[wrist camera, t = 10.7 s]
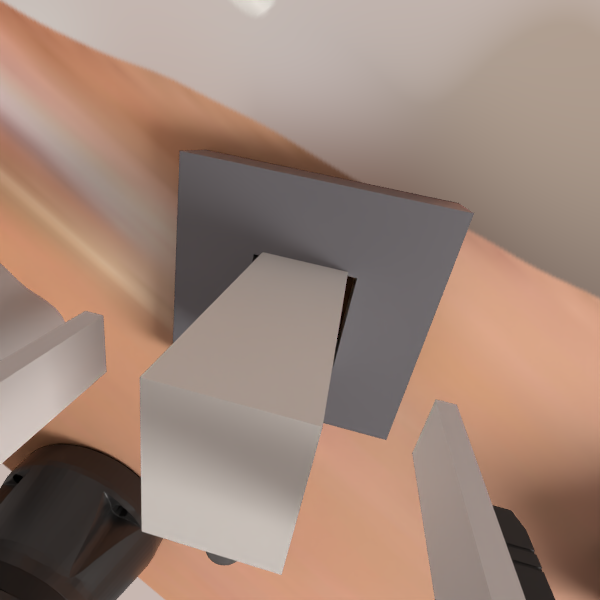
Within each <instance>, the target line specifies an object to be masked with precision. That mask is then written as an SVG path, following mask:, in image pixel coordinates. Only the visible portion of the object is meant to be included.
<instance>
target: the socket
mask: <svg viewBox="0 0 600 600" xmlns="http://www.w3.org/2000/svg"><path fill="white" fill-rule="evenodd" d="M473 214H474V213H473V212H471V211H470V210H468V209H467V208H465V207H464V206H462V205H461V204H459V203H455V202H451V201H446V200H441V199H436V198H432V197H426V196H422V195H417V194H413V193H408V192H403V191H398V190H394V189H389V188H384V187H380V186H375V185H370V184H365V183H361V182H356V181H351V180H346V179H342V178H337V177H332V176H327V175H323V174H318V173H313V172H309V171H304V170H299V169H294V168H290V167H285V166H280V165H275V164H271V163H266V162H261V161H256V160H252V159H247V158H242V157H237V156H233V155H228V154H223V153H219V152H214V151H209V150H185V151H180V159H179V187H178V215H177V244H176V272H175V300H174V328H173V343H174V342H175V341H176V340H177V339H178V338H179V337H180V336H181V335H182V334H183V333H184V332H185V331H186V330H187V329H188V328H189V327H190V326H191V325H192V324H193V323H194V322H195V321H196V320H197V318H198V317H199V316H200V315H201V314H202V313H203V312H204V311H205V310H206V309H207V308H208V307H209V306H210V305H211V304H212V303H213V302H214V301H215V300H216V299H217V298H218V297H219V296H220V295H221V294H222V293H223V292H224V291H225V290H226V289H227V288H228V287H229V286H230V285H231V284H232V283H233V282H234V281H235V280H236V279H237V278H238V277H239V276H240V275H241V274H242V273H243V272H244V271H245V270H246V269H247V268H248V267H249V266H250V265H251V264H252V262H253V261H254V260H255V259H256V258H257V257H258V256H259V255H260V254H261V253H262V252H265V253H269V254H273V255H278V256H282V257H286V258H290V259H295V260H299V261H303V262H308V263H312V264H316V265H320V266H325V267H329V268H333V269H338V270H342V271H346V272H348V275H347V276H350V277H354V281H353V285H352V288H351V292H350V296H349V300H348V303H347V307H346V311H345V315H344V319H343V322H342V326H341V330H340V334H339V337H338V340H337V342H336V348H335V354H334V360H333V367H332V373H331V379H330V385H329V391H328V397H327V403H326V409H325V415H324V421H323V423H326V424H329V425H333V426H337V427H340V428H344V429H348V430H351V431H355V432H359V433H362V434H366V435H370V436H374V437H377V438H381V439H385V440H386V439H387V437H388V434H389V431H390V429H391V426H392V424H393V421H394V418H395V416H396V413H397V411H398V408H399V406H400V403H401V400H402V398H403V395H404V393H405V390H406V387H407V385H408V382H409V380H410V377H411V375H412V372H413V369H414V367H415V364H416V362H417V359H418V356H419V354H420V351H421V349H422V346H423V344H424V341H425V338H426V336H427V333H428V331H429V328H430V325H431V323H432V320H433V318H434V315H435V313H436V310H437V307H438V305H439V302H440V300H441V297H442V295H443V292H444V289H445V287H446V284H447V282H448V279H449V276H450V274H451V271H452V269H453V266H454V264H455V261H456V258H457V256H458V253H459V251H460V248H461V245H462V243H463V240H464V238H465V235H466V233H467V230H468V227H469V225H470V222H471V220H472V217H473Z"/></svg>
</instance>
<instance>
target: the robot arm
mask: <svg viewBox="0 0 600 600" xmlns="http://www.w3.org/2000/svg"><path fill="white" fill-rule="evenodd" d="M105 373H106V355H105V337H104V319H103V315H100V314H96V313H92V312H88V311H84V312H83V313H81V314H79V315H78V316H76V317H74V318H72V319H71V320H69V321H67V322H66V323H64V324H62V325H61V326H59V327H57V328H56V329H54V330H52V331H50V332H49V333H47V334H45V335H44V336H42V337H40V338H39V339H37V340H35V341H34V342H32V343H30V344H28V345H27V346H25V347H23V348H22V349H20V350H18V351H17V352H15V353H13V354H12V355H10V356H8V357H6V358H5V359H3V360H1V361H0V465H1V464H2V463H3V462H4V461H5V460H6V459H8V458H9V457H10V456H11V455H12V454H13V453H14V452H16V451H17V450H18V449H19V448H20V447H21V446H22V445H23V444H25V443H26V442H27V441H28V440H29V439H30V438H31V437H33V436H34V435H35V434H36V433H37V432H38V431H39V430H41V429H42V428H43V427H44V426H45V425H46V424H47V423H49V422H50V421H51V420H52V419H53V418H54V417H55V416H57V415H58V414H59V413H60V412H61V411H62V410H63V409H65V408H66V407H67V406H68V405H69V404H70V403H71V402H73V401H74V400H75V399H76V398H77V397H78V396H79V395H81V394H82V393H83V392H84V391H85V390H86V389H87V388H89V387H90V386H91V385H92V384H93V383H94V382H95V381H97V380H98V379H99V378H100V377H101V376H102V375H103V374H105ZM412 454H413V461H414V467H415V473H416V480H417V486H418V493H419V499H420V506H421V512H422V519H423V525H424V532H425V538H426V545H427V551H428V558H429V564H430V570H431V577H432V583H433V590H434V596H435V600H555V598H554V596H553V593H552V591H551V589H550V586H549V584H548V582H547V579H546V577H545V574H544V572H542V570H541V569H542V567H541V565H540V562H539V560H538V558H537V555H535V554H534V551H535V550H534V548H533V546H532V543H531V541H530V539H529V536H528V534H527V531H526V529H525V528H524V527H523V525H522V524H521V523H520V521H519V520H518V519H517V518H516V516H515V515H514V514H513V512H512V511H511V510H508V509H504V508H500V507H496V506H493V505H492V503H491V500H490V497H489V495H488V492H487V489H486V486H485V483H484V480H483V478H482V475H481V472H480V469H479V466H478V463H477V461H476V458H475V455H474V452H473V449H472V447H471V444H470V441H469V438H468V435H467V432H466V430H465V427H464V424H463V421H462V418H461V416H460V413H459V410H458V407H457V405H456V404H452V403H448V402H444V401H440V400H435V402H434V405H433V407H432V409H431V411H430V414H429V416H428V418H427V421H426V423H425V425H424V427H423V430H422V432H421V434H420V437H419V439H418V441H417V444H416V446H415V448H414V450H413V453H412ZM162 539H163V538H161V537H158V536H155V535H152V534H148V533H145V532H142V517H141V479H140V478H139V477H138V476H137V475H136V474H135V473H133V472H132V471H131V470H129V469H128V468H127V467H125V466H124V465H122V464H121V463H119V462H117V461H116V460H114V459H112V458H110V457H108V456H106V455H104V454H101V453H99V452H96V451H94V450H91V449H87V448H84V447H79V446H74V445H63V444H59V445H49V446H45V447H42V448H40V449H37V450H36V451H34V452H33V453H31V454H30V455H29V456H28V457H27V458H26V459H25V460H24V461H23V462H22V463H21V464H19V465H18V466H17V467H16V468H15V469H14V470H13V471H12V472H11V473H10V474H9V476H8V477H7V478H6V480H5V481H4V483H3V485H2V486H1V488H0V600H116V599H117V598H118V597H119V596H120V595H121V594H122V593H123V592H124V591H125V589H127V587H128V586H129V585H130V584H131V583H132V582H133V581H134V580H135V579H136V578H137V577H138V575H139V574H140V573H141V572H142V571H143V570H144V569H145V568H146V567H147V566H148V564H149V563H150V561H151V560H152V558H153V556H154V555H155V553H156V551H157V549H158V547H159V545H160V543H161V541H162Z"/></svg>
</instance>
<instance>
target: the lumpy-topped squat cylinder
mask: <svg viewBox="0 0 600 600" xmlns="http://www.w3.org/2000/svg"><path fill="white" fill-rule="evenodd" d="M64 323H65V321H64V319H63V317H62V316H61V314H60V313H59V312H58V311H57V309H56V308H55V307H54V306H52V305H51V304H50V303H49V302H47V301H46V300H44V299H43V298H41V297H40V296H38V295H37V294H35V293H33V292H32V291H30V290H29V289H28V288H26V287H25V286H24V285H23V284H22V283H20V282H19V281H18V280H17V279H16V278H15V277H14V276H13V275H12V274H11V273H10V272H9V271H8V270H7V269H6V268H5V267H4V266H3V265H2V264H1V263H0V361H1V360H3V359H5V358H6V357H8V356H10V355H12V354H13V353H15V352H17V351H18V350H20V349H22V348H23V347H25V346H27V345H28V344H30V343H32V342H34V341H35V340H37V339H39V338H40V337H42V336H44V335H45V334H47V333H49V332H50V331H52V330H54V329H56V328H57V327H59V326H61V325H62V324H64Z"/></svg>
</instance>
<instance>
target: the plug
mask: <svg viewBox="0 0 600 600" xmlns="http://www.w3.org/2000/svg"><path fill="white" fill-rule="evenodd" d="M347 275H348V272H346V271H342V270H338V269H333V268H329V267H325V266H320V265H316V264H312V263H308V262H303V261H299V260H295V259H290V258H286V257H282V256H278V255H273V254H269V253H265V252H262V253H261V254H260V255H259V256H258V257H257V258H256V259H255V260H254V261H253V262H252V264H251V265H250V266H249V267H248V268H247V269H246V270H245V271H244V272H243V273H242V274H241V275H240V276H239V277H238V278H237V279H236V280H235V281H234V282H233V283H232V284H231V285H230V286H229V287H228V288H227V289H226V290H225V291H224V292H223V293H222V294H221V295H220V296H219V297H218V298H217V299H216V300H215V301H214V302H213V303H212V304H211V305H210V306H209V307H208V308H207V309H206V310H205V311H204V312H203V313H202V314H201V315H200V316H199V317H198V318H197V320H196V321H195V322H194V323H193V324H192V325H191V326H190V327H189V328H188V329H187V330H186V331H185V332H184V333H183V334H182V335H181V336H180V337H179V338H178V339H177V340H176V341H175V342H174V343H173V344H172V345H171V346H170V347H169V348H168V349H167V350H166V351H165V352H164V353H163V354H162V355H161V356H160V357H159V358H158V359H157V360H156V361H155V362H154V363H153V364H152V365H151V366H150V367H149V368H148V369H147V370H146V371H145V372H144V373H143V374H142V375H141V377H140V430H141V517H142V532H145V533H148V534H152V535H155V536H158V537H161V538H164V539H168V540H171V541H174V542H177V543H180V544H184V545H187V546H190V547H193V548H197V549H200V550H203V551H206V553H207V555H208V557H209V558H210V560H211V561H213V562H214V563H216V564H218V565H230V564H233V563H235V562H236V561H238V562H242V563H245V564H248V565H251V566H254V567H258V568H261V569H264V570H267V571H271V572H274V573H277V574H280V575H282V571H283V567H284V564H285V560H286V557H287V553H288V549H289V546H290V542H291V539H292V535H293V531H294V528H295V524H296V521H297V517H298V513H299V510H300V506H301V503H302V499H303V495H304V492H305V488H306V485H307V481H308V477H309V474H310V470H311V467H312V463H313V459H314V456H315V452H316V449H317V445H318V441H319V438H320V434H321V431H322V427H323V421H324V415H325V409H326V403H327V397H328V391H329V385H330V379H331V373H332V367H333V360H334V354H335V348H336V342H337V336H338V330H339V324H340V318H341V312H342V306H343V300H344V294H345V288H346V282H347Z"/></svg>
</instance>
